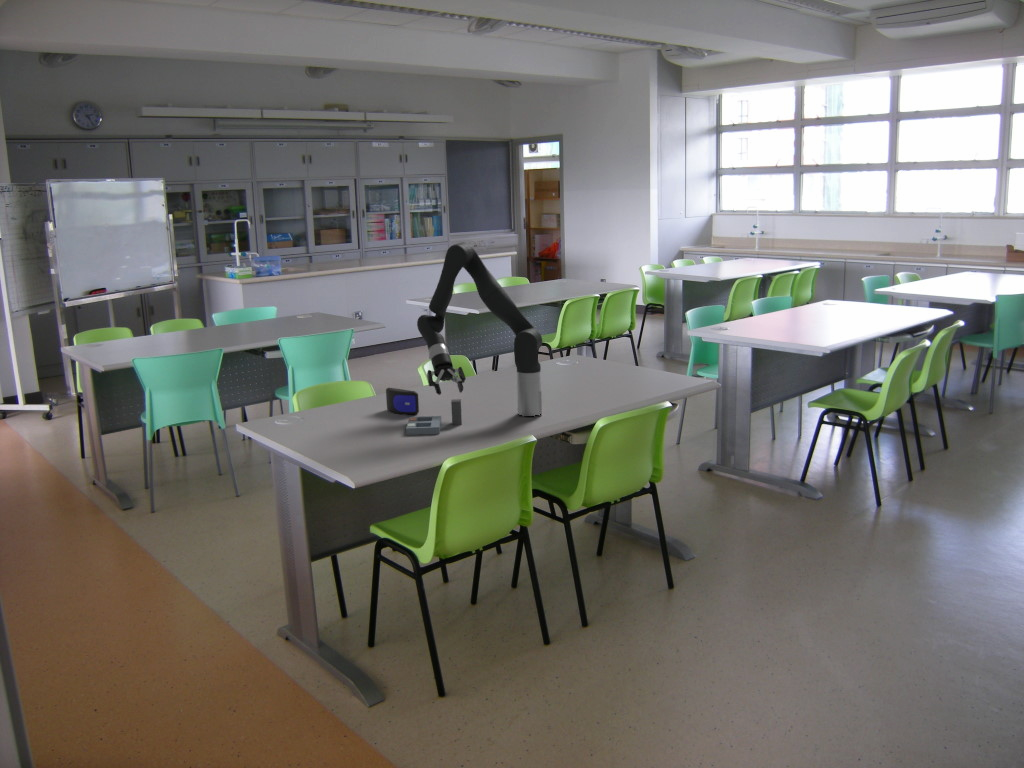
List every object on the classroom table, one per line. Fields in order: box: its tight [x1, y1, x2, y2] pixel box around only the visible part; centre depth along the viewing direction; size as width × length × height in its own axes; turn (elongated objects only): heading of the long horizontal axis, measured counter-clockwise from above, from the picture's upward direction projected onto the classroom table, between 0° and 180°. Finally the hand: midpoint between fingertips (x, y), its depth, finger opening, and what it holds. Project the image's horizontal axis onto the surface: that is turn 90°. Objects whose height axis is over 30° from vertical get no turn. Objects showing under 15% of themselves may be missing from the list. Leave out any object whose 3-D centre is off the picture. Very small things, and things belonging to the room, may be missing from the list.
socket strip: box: [405, 415, 442, 436], centre depth 311 cm, size 12×16×3 cm
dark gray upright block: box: [450, 398, 463, 426], centre depth 315 cm, size 4×4×9 cm
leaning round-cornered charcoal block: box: [385, 387, 420, 416], centre depth 333 cm, size 16×5×9 cm, turn 56°
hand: (450, 392), depth 319 cm, fingers open, 8 cm apart
